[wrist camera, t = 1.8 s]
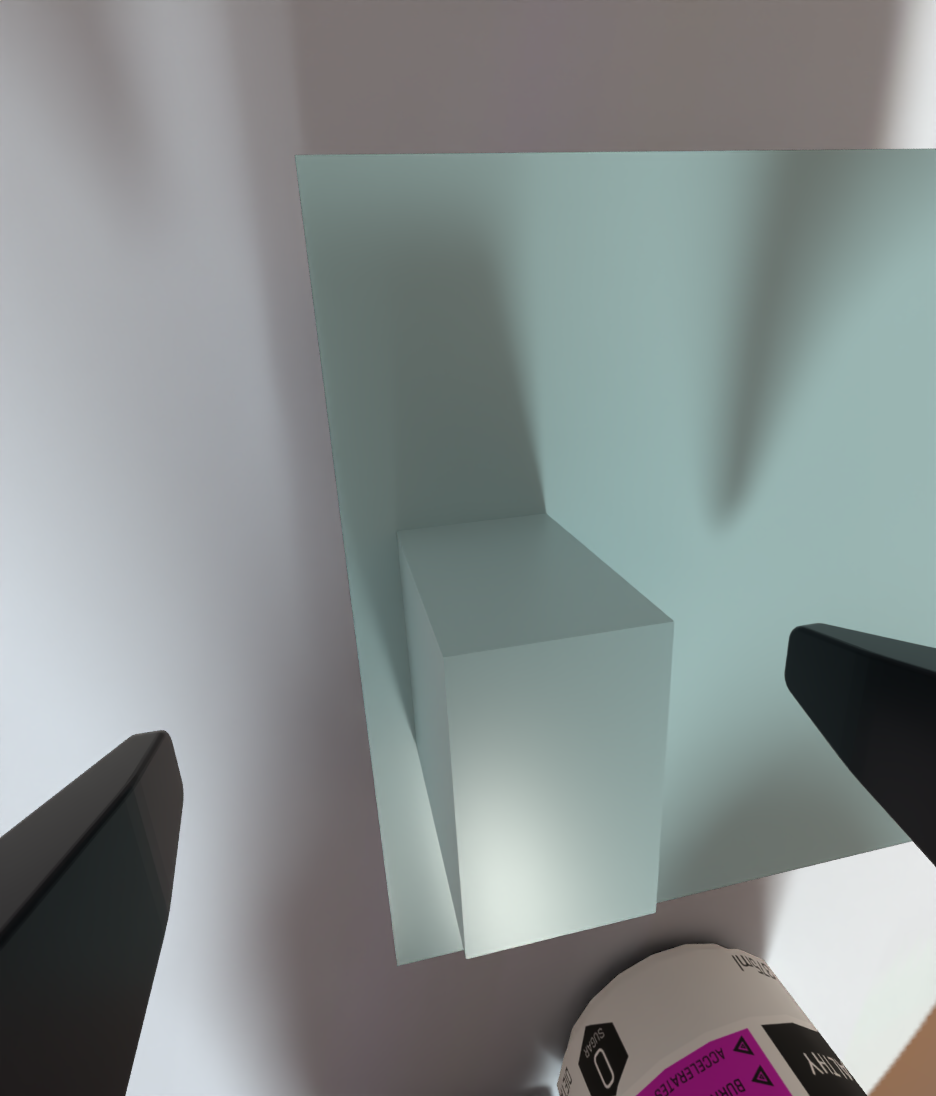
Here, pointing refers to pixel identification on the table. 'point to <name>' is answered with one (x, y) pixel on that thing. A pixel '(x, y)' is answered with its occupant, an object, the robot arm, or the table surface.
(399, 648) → the lid
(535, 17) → the table surface
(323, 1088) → the table surface
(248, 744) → the table surface
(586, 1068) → the supplement can
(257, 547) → the table surface
